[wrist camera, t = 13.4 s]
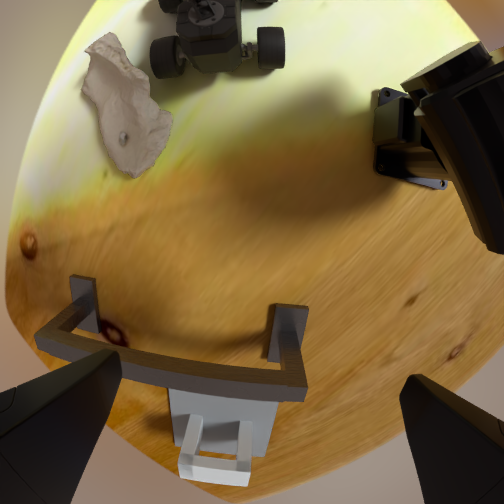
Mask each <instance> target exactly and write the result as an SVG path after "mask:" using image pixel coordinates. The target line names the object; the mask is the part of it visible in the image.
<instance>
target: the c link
mask: <svg viewBox="0 0 504 504" xmlns="http://www.w3.org/2000/svg"><path fill="white" fill-rule="evenodd" d="M252 425H253V421H241V420H240V425H239V433H238V442H237V453H236V460H227V459H218V458H211V457H204V456H198V455H199V450H200V445H201V440H202V435H203V416H201V415H195V414H190V418H189V421H188V425H187V429H186V433H185V437H184V440H183V444H182V448H181V452H180V456H179V460H178V468H179V473H180V478H184V479H190V480H195V481H202V482H209V483H216V484H224V485H234V486H248V482H249V478H250V473H251V452H252Z"/></svg>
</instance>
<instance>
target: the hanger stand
mask: <svg viewBox="0 0 504 504" xmlns="http://www.w3.org/2000/svg"><path fill="white" fill-rule="evenodd" d="M70 284H71V292H72V299H73V303H71V304H70V305H69V306H68V307H66V308H65V309H64V310H63V311H62V312H60V313H59V314H58V315H57V316H55V317H54V318H53V319H52V320H51V321H49V322H48V323H47V324H46V325H45V326H43V327H42V328H41V329H40V330H39V331H38V332H36V333H35V334H34V337H35V341H36V344H37V348H38V349H39V350H42V351H45V352H47V353H49V354H50V355H52V356H55V357H58V358H60V359H63V360H66V361H69V362H75V361H77V360H79V359H81V358H84V357H86V356H88V355H90V354H93V353H95V352H97V351H99V350H102V349H104V348H110V349H114V350H117V351H118V352H119V355H120V361H121V367H122V378H125V379H129V380H133V381H137V382H141V383H146V384H150V385H155V386H160V387H164V388H169V389H175V390H180V391H186V392H192V393H198V394H204V395H211V396H219V397H227V398H235V399H245V400H256V401H270V402H284V401H292V402H304V399H305V396H306V393H307V390H308V385H307V380H306V375H305V370H304V365H303V360H302V355H301V350H300V349H301V344H302V340H303V335H304V331H305V326H306V322H307V317H308V312H309V308H308V306H301V305H289V304H279V303H276V306H275V313H274V319H273V325H272V331H271V338H270V344H269V350H268V355H267V362H276V363H280V366H281V370H271V369H259V368H248V367H239V366H230V365H222V364H214V363H207V362H200V361H193V360H187V359H181V358H175V357H170V356H164V355H159V354H154V353H149V352H144V351H139V350H135V349H130V348H126V347H122V346H117V345H113V344H109V343H105V342H101V341H98V340H94V339H90V338H86V337H83V336H79V335H76V334H73V333H71V332H72V331H73V330H74V329H75V328H76V327H77V328H79V329H82V330H86V331H90V332H93V333H97V334H99V333H100V332H101V331H102V329H101V322H100V315H99V307H98V299H97V290H96V279H95V278H90V277H84V276H79V275H74V274H73V275H72V276H70Z"/></svg>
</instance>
